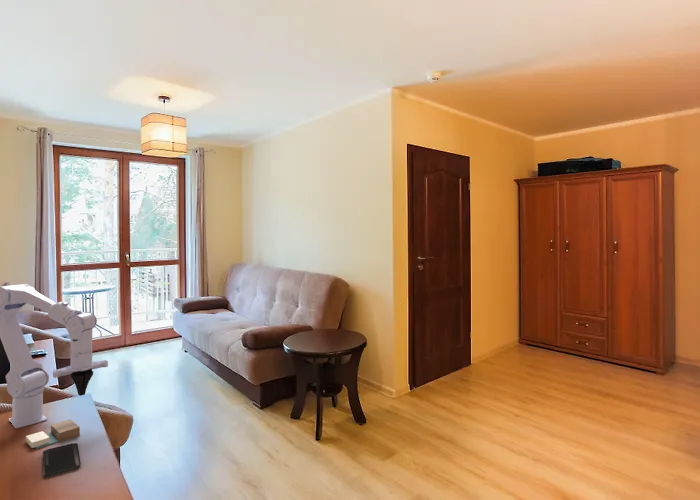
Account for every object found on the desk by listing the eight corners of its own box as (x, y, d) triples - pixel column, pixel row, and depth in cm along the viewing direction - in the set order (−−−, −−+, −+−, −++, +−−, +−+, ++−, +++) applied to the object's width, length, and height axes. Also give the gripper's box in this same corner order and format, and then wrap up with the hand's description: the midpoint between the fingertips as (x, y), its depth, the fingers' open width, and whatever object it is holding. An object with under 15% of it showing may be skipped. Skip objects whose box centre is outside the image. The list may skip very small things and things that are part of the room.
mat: (28, 440, 116) (28, 438, 116) (49, 433, 120) (49, 432, 120) (36, 449, 111) (36, 448, 111) (58, 442, 115) (58, 441, 115)
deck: (50, 433, 120) (50, 424, 120) (70, 427, 124) (70, 419, 124) (59, 441, 115) (59, 433, 115) (79, 435, 119) (79, 427, 119)
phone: (77, 442, 113) (81, 465, 101) (77, 445, 113) (81, 470, 101) (42, 450, 109) (41, 476, 97) (42, 454, 109) (41, 481, 97)
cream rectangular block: (42, 431, 117) (42, 436, 117) (25, 436, 114) (25, 441, 114) (49, 437, 114) (49, 442, 114) (32, 442, 111) (31, 448, 111)
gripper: (58, 359, 118) (58, 404, 118) (111, 349, 129) (111, 391, 129) (50, 354, 122) (50, 398, 122) (103, 345, 133) (103, 385, 134)
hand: (81, 394), depth 126 cm, fingers closed
